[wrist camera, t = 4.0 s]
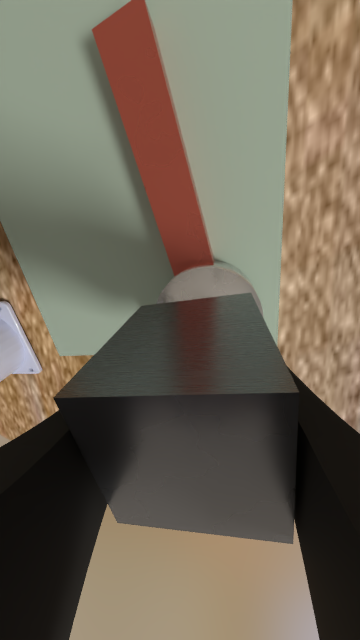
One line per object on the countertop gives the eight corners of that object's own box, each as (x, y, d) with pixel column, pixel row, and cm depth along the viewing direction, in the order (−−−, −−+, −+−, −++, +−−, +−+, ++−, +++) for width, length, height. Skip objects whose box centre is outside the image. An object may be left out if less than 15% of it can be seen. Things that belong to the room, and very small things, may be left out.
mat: (62, 353, 21) (59, 355, 21) (-96, -12, 12) (-106, -19, 11) (275, 346, 17) (276, 349, 17) (299, -233, 8) (303, -256, 7)
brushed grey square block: (162, 388, 12) (117, 522, 7) (141, 305, 10) (53, 397, 5) (256, 386, 11) (293, 544, 6) (250, 292, 9) (299, 392, 4)
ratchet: (264, 337, 17) (283, 388, 12) (179, 352, 18) (164, 402, 13) (196, -2, 10) (173, -226, 5) (76, 78, 12) (-28, -24, 7)
